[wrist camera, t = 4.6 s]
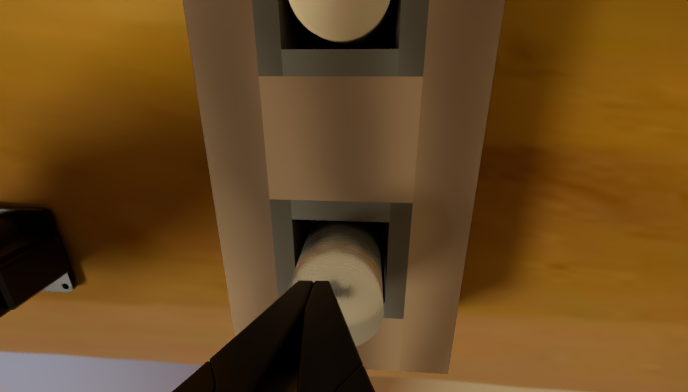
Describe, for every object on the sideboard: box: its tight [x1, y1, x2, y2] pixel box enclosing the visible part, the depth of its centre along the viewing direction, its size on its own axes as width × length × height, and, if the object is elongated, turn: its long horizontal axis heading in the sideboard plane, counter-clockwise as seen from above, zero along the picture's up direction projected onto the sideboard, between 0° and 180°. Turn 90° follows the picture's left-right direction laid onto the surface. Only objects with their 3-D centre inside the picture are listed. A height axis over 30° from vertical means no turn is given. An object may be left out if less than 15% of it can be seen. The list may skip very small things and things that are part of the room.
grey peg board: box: [183, 0, 505, 374], centre depth 17 cm, size 12×26×5 cm, turn 0°
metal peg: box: [288, 220, 384, 346], centre depth 16 cm, size 4×4×5 cm
